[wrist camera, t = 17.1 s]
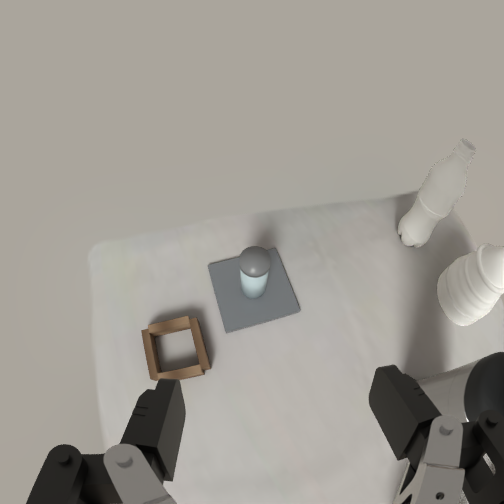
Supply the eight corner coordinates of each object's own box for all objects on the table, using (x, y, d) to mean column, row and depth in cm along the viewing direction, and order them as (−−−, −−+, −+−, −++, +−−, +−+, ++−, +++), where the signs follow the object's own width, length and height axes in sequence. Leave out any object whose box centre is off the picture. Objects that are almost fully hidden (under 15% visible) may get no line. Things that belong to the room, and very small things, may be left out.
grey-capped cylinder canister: (260, 272, 47) (263, 242, 40) (270, 294, 45) (275, 267, 38) (236, 280, 46) (235, 251, 39) (245, 302, 44) (245, 276, 37)
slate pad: (275, 249, 50) (275, 247, 49) (299, 311, 44) (300, 310, 43) (208, 266, 48) (207, 265, 47) (226, 333, 42) (225, 332, 41)
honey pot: (478, 277, 47) (528, 231, 31) (480, 331, 40) (541, 293, 25) (436, 260, 49) (485, 205, 34) (435, 317, 43) (497, 271, 27)
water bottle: (388, 224, 53) (441, 127, 32) (413, 221, 54) (467, 132, 33) (403, 254, 50) (469, 160, 28) (428, 249, 50) (493, 162, 29)
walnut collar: (198, 318, 43) (195, 313, 41) (212, 372, 39) (210, 370, 36) (146, 331, 42) (140, 326, 39) (156, 384, 37) (151, 382, 35)
